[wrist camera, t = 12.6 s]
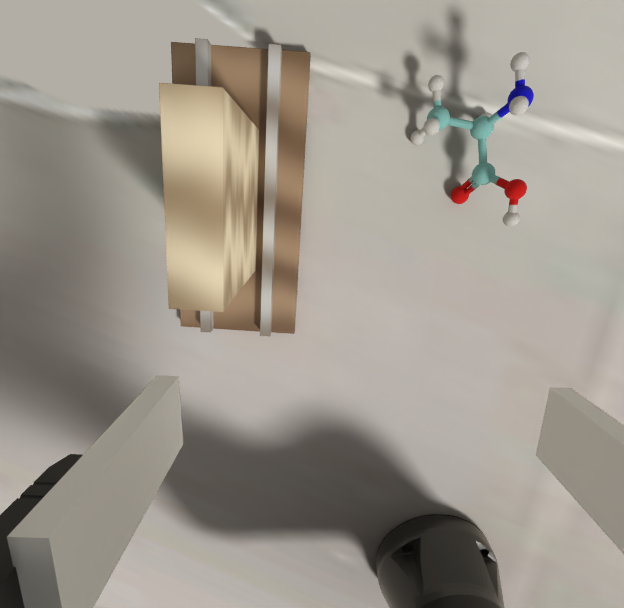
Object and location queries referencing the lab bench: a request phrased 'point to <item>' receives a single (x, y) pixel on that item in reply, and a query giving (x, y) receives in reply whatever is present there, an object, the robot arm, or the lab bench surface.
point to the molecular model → (482, 136)
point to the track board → (260, 172)
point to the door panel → (208, 195)
